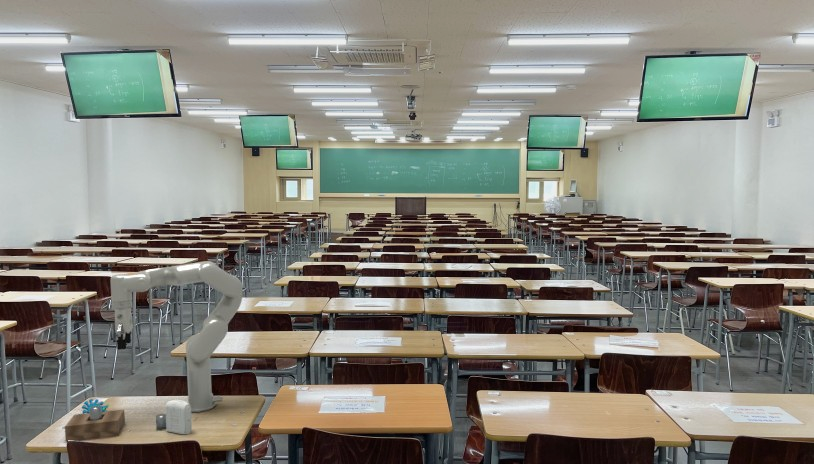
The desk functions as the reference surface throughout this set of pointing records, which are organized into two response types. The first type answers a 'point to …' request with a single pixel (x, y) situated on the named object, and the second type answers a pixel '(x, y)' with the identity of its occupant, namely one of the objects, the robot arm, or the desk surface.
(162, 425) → the short pin
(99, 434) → the hole block
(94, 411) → the long pin
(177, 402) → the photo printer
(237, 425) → the desk surface
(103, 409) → the gear
